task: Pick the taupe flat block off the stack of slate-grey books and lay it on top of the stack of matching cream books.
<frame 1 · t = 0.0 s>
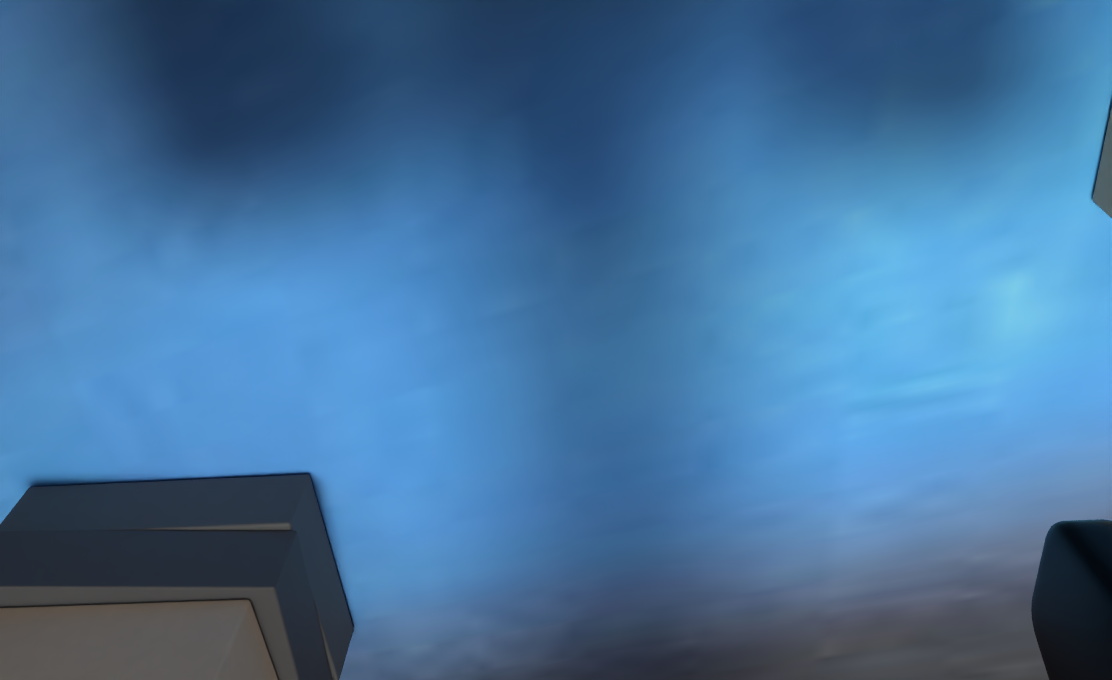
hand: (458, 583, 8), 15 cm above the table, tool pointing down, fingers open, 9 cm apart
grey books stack: (198, 560, 28), on the table
taupe flat block: (142, 672, 25), point 4 cm above the table, touching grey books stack
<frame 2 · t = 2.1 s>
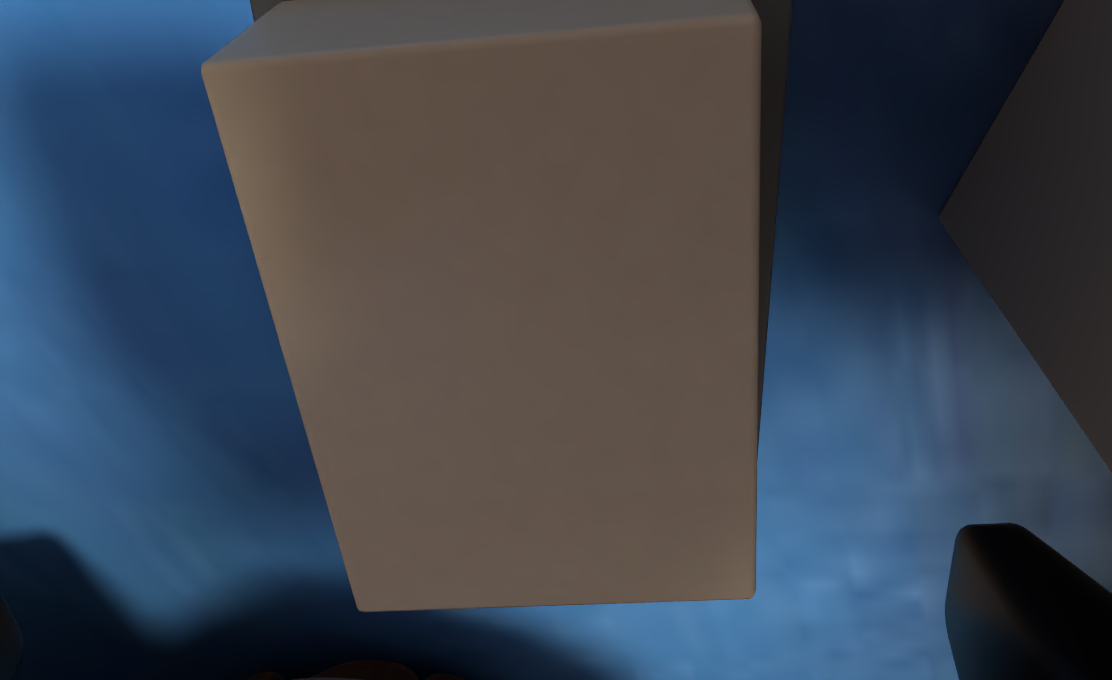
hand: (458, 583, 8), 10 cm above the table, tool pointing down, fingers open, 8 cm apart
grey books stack: (551, 152, 16), on the table
taupe flat block: (534, 265, 12), point 4 cm above the table, touching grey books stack
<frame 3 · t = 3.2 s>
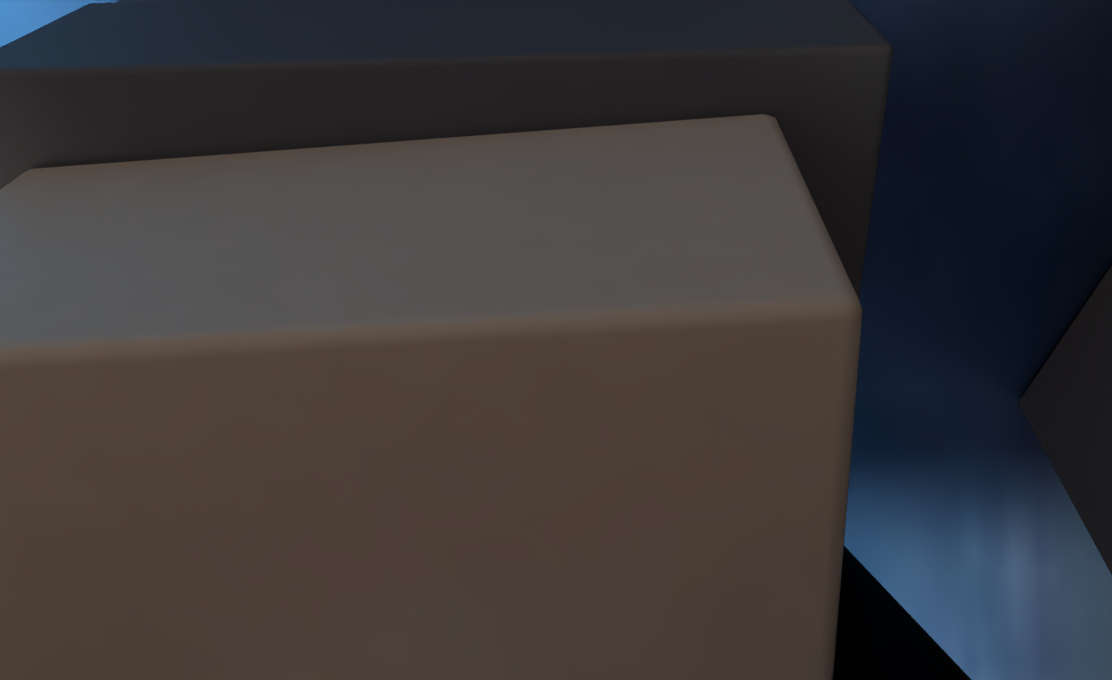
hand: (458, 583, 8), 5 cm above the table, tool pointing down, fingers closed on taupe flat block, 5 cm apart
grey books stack: (505, 305, 12), on the table
taupe flat block: (463, 539, 8), point 4 cm above the table, touching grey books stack, gripper
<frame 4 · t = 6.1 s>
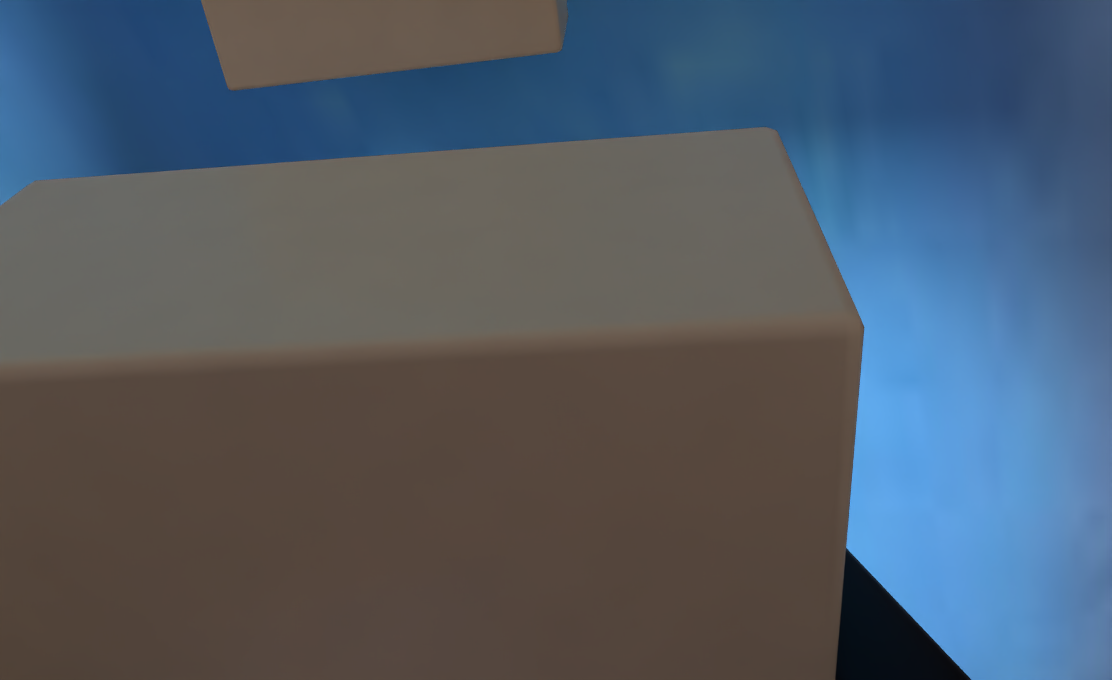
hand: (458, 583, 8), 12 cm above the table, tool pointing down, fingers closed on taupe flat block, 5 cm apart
taupe flat block: (466, 547, 8), point 12 cm above the table, touching gripper
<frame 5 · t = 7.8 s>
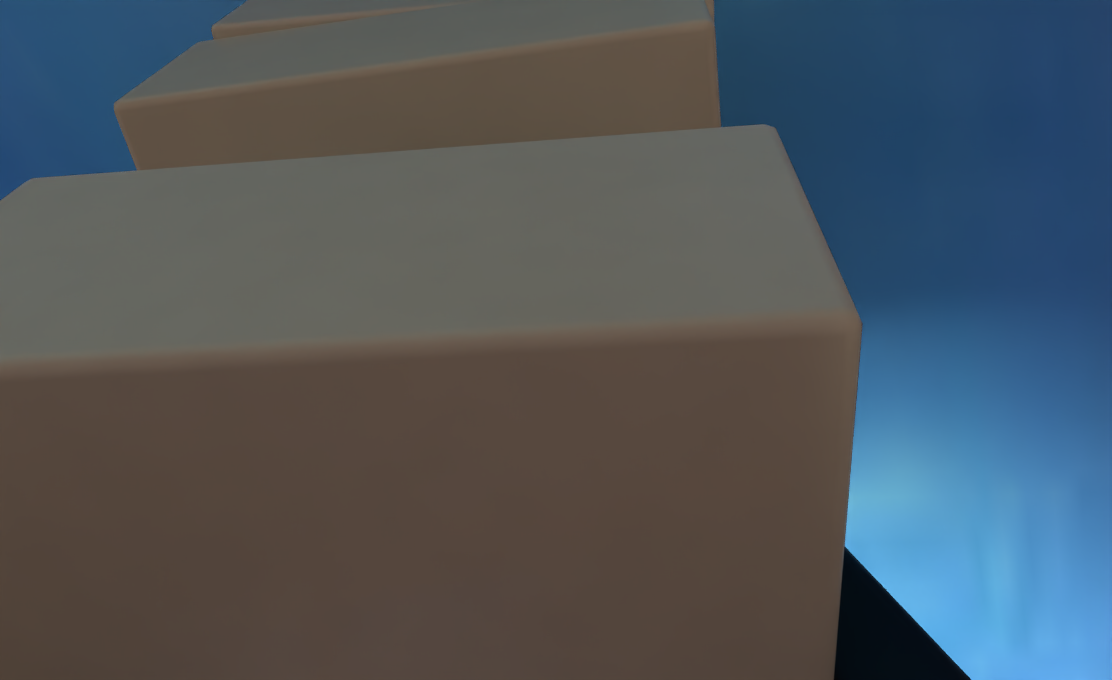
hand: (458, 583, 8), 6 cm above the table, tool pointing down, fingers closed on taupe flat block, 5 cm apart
taupe flat block: (464, 545, 8), point 6 cm above the table, touching gripper
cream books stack: (513, 240, 13), on the table
when the fingers open (4 cm above the table, at t = 8.8 s): taupe flat block stays where it is, resting on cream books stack.
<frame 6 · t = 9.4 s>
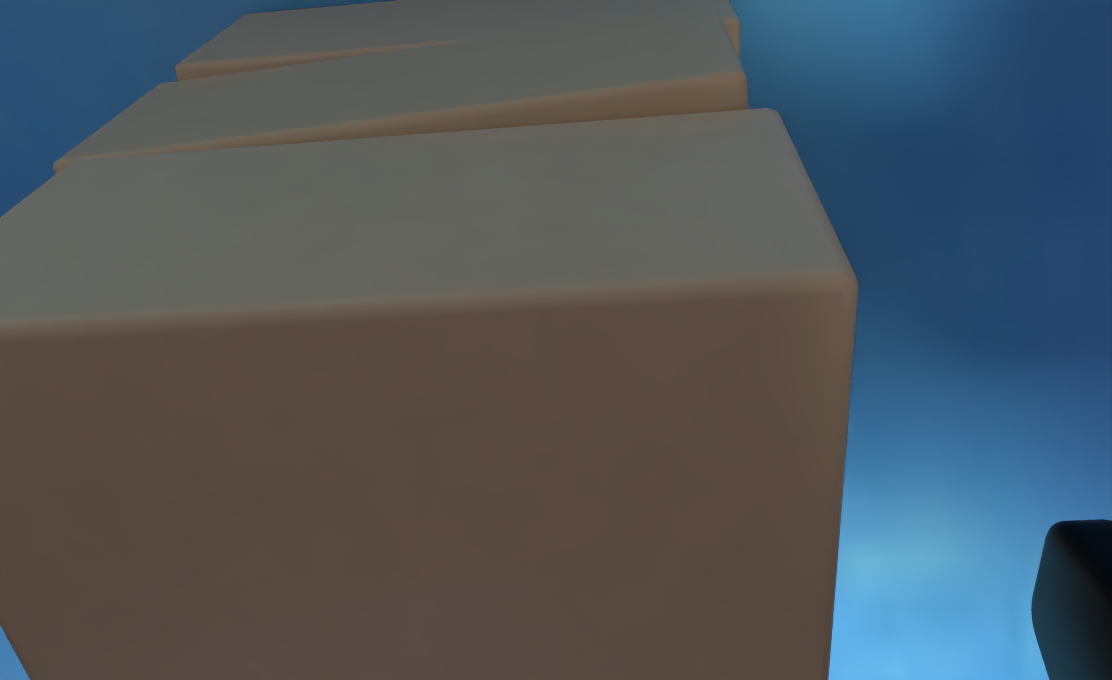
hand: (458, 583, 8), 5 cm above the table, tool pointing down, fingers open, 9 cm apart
taupe flat block: (480, 514, 9), point 4 cm above the table, touching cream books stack
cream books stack: (513, 288, 12), on the table
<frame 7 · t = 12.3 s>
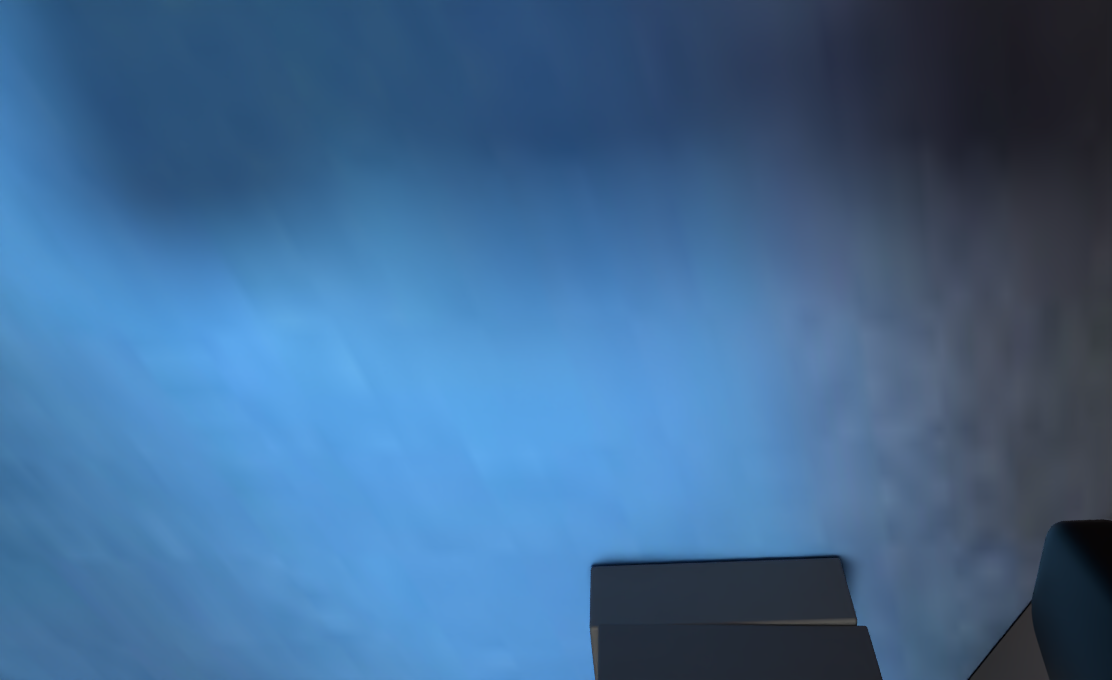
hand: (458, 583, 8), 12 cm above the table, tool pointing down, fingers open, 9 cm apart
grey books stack: (715, 672, 26), on the table
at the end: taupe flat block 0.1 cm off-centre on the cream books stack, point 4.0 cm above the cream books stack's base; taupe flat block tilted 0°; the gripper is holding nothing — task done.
